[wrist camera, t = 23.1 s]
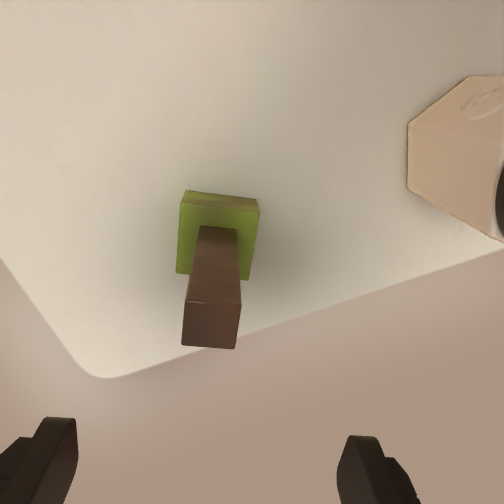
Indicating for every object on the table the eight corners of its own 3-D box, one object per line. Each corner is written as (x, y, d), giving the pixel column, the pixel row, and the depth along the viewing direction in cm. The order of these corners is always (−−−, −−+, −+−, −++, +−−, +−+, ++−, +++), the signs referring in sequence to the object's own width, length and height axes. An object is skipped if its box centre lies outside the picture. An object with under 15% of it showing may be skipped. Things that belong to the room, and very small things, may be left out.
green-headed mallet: (256, 199, 26) (277, 281, 15) (246, 261, 28) (258, 374, 17) (185, 189, 25) (154, 268, 15) (180, 254, 27) (149, 366, 17)
